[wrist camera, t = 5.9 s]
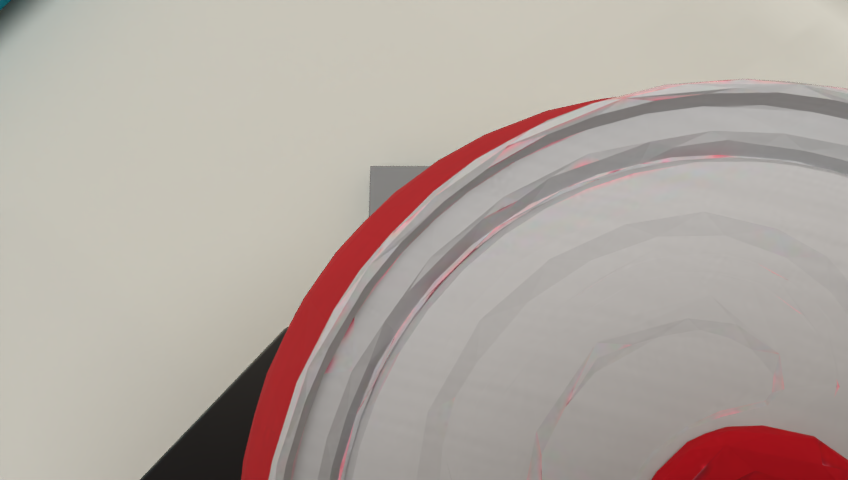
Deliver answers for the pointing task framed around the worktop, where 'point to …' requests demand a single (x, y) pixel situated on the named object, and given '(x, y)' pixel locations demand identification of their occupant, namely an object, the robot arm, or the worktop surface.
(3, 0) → the ice cube tray
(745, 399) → the beverage can
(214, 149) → the worktop surface
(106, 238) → the worktop surface
